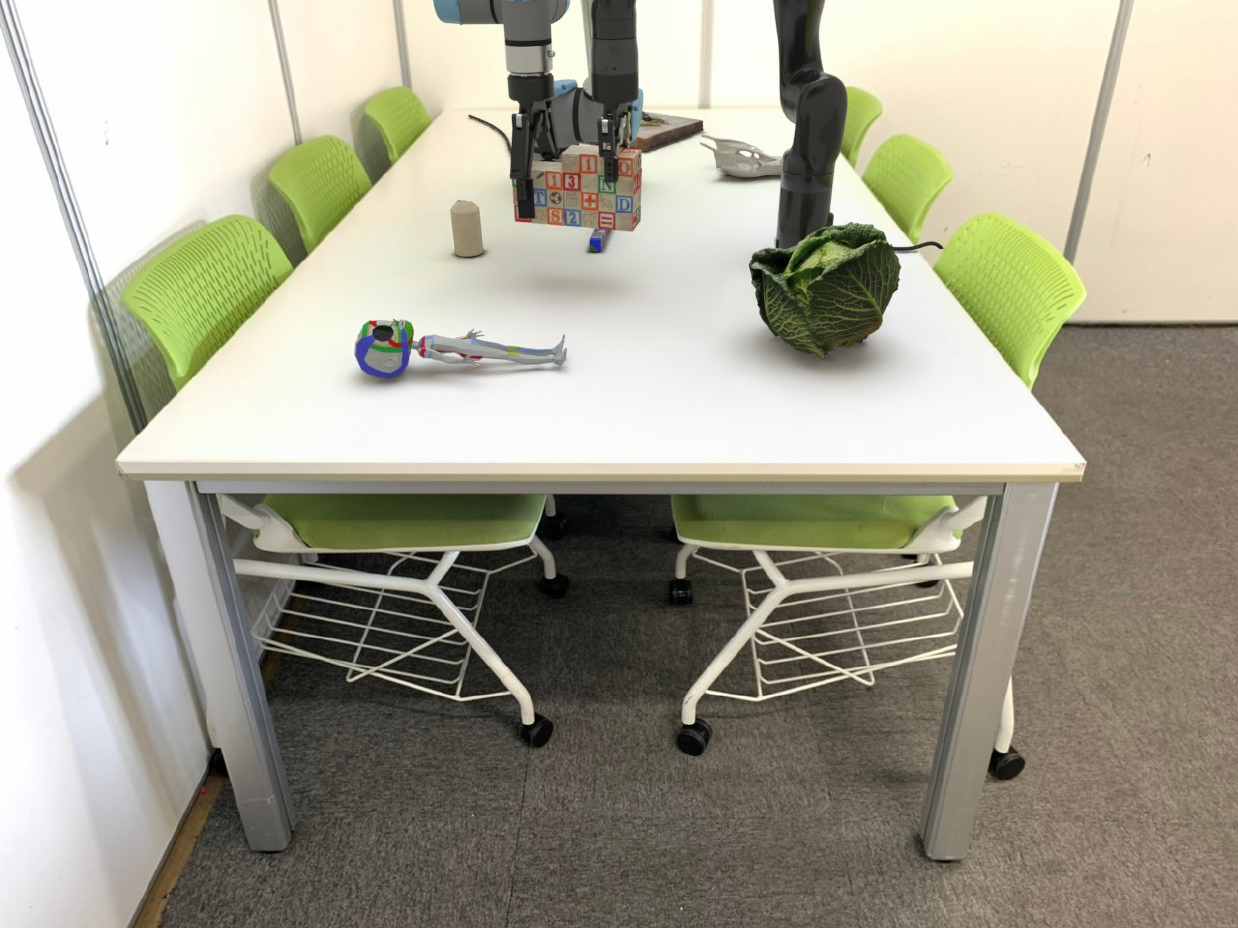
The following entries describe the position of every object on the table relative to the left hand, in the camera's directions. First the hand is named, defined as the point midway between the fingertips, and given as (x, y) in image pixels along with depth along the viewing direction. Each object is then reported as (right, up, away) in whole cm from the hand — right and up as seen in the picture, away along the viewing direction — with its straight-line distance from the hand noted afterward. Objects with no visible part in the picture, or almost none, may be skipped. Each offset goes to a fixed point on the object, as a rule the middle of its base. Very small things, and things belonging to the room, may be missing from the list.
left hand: (538, 207), depth 156 cm
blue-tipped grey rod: (+11, +2, +27) cm, 29 cm away
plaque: (+18, +50, +103) cm, 116 cm away
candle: (-15, -3, +19) cm, 25 cm away
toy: (-9, -31, -24) cm, 40 cm away
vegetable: (+45, -27, -19) cm, 55 cm away
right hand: (+14, +3, -6) cm, 15 cm away
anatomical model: (+46, +26, +65) cm, 84 cm away
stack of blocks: (+7, -3, 0) cm, 7 cm away
